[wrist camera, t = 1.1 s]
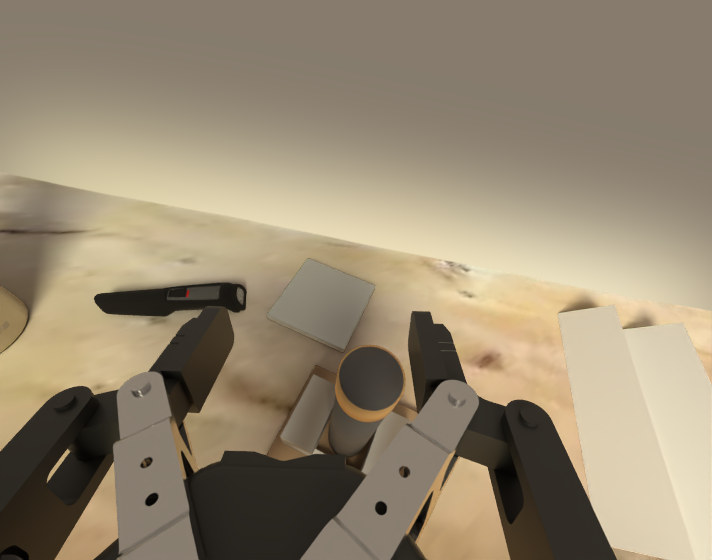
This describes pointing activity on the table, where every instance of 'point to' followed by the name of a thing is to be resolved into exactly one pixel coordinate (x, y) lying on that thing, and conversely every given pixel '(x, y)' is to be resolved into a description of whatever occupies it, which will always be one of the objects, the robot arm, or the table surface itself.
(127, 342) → the table surface
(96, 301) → the electric trimmer
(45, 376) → the table surface
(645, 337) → the z bracket
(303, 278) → the rubber mat
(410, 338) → the robot arm
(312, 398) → the clamp block
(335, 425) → the grey orange cylinder
